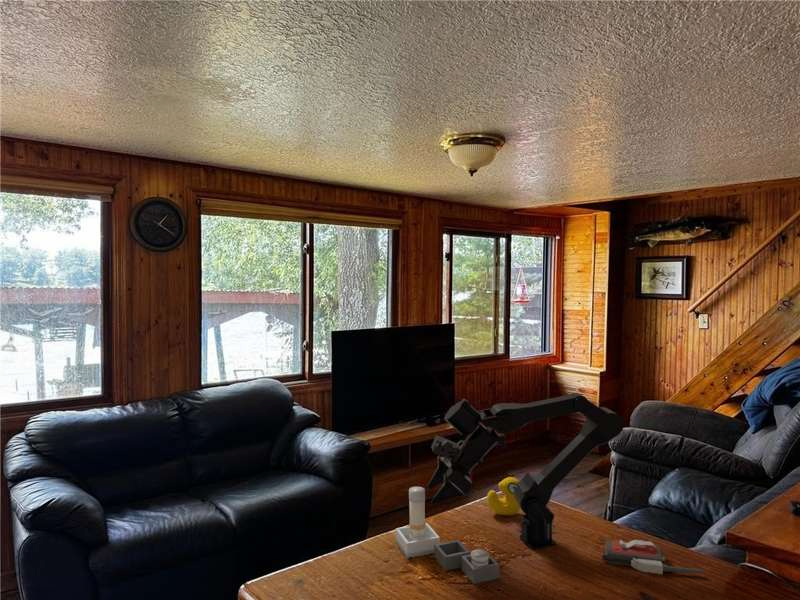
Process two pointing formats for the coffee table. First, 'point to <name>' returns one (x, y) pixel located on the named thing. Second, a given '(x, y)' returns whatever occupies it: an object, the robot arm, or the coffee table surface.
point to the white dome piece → (479, 558)
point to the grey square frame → (450, 554)
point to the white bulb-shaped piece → (417, 513)
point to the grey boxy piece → (480, 570)
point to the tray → (416, 542)
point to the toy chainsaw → (640, 556)
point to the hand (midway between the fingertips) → (430, 495)
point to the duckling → (508, 502)
